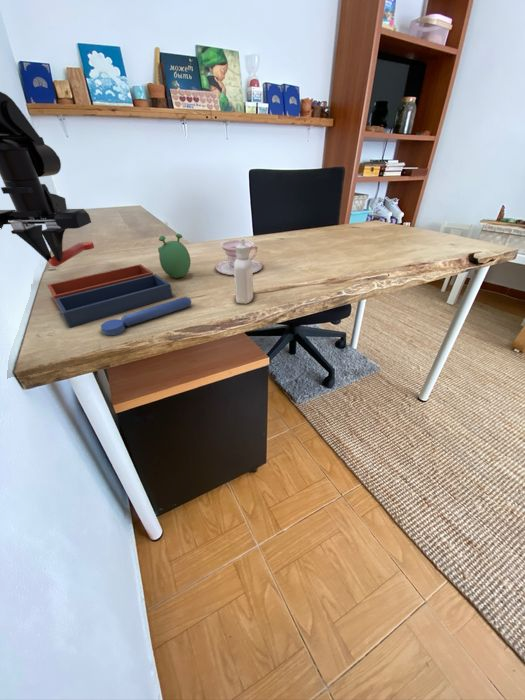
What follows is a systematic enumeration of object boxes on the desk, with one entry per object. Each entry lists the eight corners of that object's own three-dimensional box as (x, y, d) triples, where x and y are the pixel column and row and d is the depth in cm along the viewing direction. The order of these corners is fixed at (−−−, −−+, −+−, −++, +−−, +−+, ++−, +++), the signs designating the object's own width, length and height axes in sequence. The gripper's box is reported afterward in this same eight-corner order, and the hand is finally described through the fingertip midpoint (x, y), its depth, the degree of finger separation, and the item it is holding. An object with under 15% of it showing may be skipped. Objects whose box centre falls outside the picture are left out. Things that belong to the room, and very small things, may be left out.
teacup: (212, 276, 72) (209, 250, 68) (219, 260, 82) (217, 237, 78) (261, 276, 71) (260, 250, 68) (262, 260, 81) (262, 237, 78)
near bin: (69, 327, 52) (62, 313, 50) (61, 312, 57) (54, 298, 55) (172, 297, 62) (170, 284, 60) (158, 286, 67) (155, 274, 65)
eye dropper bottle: (261, 296, 62) (260, 237, 55) (243, 306, 58) (240, 244, 51) (245, 291, 64) (243, 234, 57) (227, 300, 60) (222, 240, 53)
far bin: (59, 310, 58) (53, 296, 56) (52, 297, 63) (47, 284, 61) (155, 284, 68) (152, 272, 66) (143, 275, 73) (140, 264, 71)
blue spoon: (187, 302, 60) (185, 293, 59) (195, 308, 58) (194, 298, 56) (100, 329, 51) (96, 319, 50) (106, 337, 49) (102, 327, 48)
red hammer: (61, 267, 64) (58, 258, 63) (45, 267, 64) (41, 258, 63) (96, 246, 78) (94, 238, 77) (83, 246, 78) (80, 238, 77)
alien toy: (182, 269, 76) (175, 228, 70) (198, 277, 71) (192, 234, 66) (157, 276, 72) (147, 233, 67) (172, 284, 68) (163, 240, 62)
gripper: (90, 175, 62) (112, 249, 71) (2, 176, 62) (36, 251, 71) (61, 180, 53) (90, 265, 62) (-42, 182, 53) (3, 266, 62)
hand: (55, 261), depth 65 cm, fingers closed on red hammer, 2 cm apart
